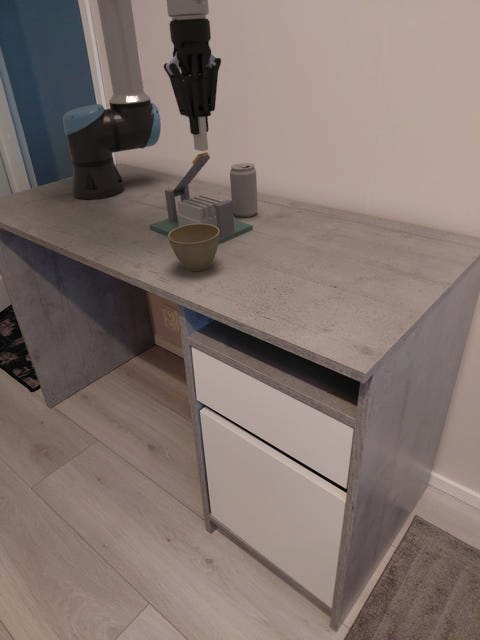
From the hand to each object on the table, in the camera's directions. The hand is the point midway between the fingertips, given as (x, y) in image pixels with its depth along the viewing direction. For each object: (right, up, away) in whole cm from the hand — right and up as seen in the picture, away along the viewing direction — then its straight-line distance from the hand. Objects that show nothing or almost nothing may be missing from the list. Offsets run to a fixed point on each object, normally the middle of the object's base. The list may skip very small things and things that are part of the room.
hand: (201, 149), depth 100 cm
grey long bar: (-3, -4, +7) cm, 9 cm away
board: (-1, -15, +12) cm, 19 cm away
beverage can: (+10, -9, +19) cm, 24 cm away
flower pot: (0, -25, -5) cm, 26 cm away
